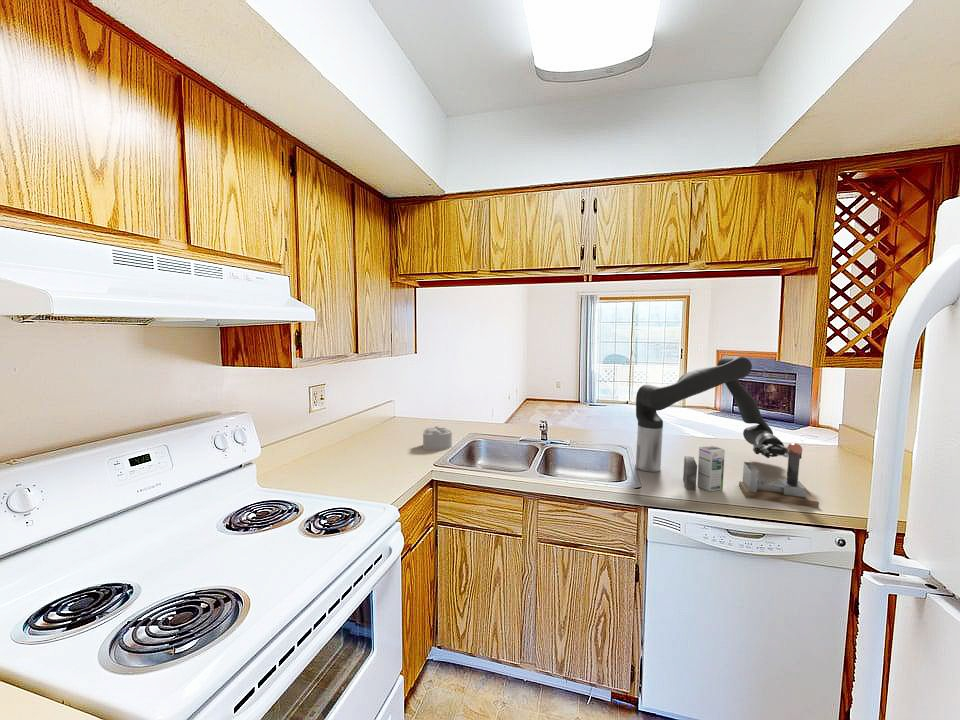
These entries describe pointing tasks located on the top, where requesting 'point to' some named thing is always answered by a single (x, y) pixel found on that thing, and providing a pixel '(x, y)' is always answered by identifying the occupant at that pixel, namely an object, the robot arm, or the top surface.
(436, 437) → the lumpy-topped squat cylinder
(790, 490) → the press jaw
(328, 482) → the top surface
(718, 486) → the syrup box
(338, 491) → the top surface
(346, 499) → the top surface
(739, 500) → the top surface
